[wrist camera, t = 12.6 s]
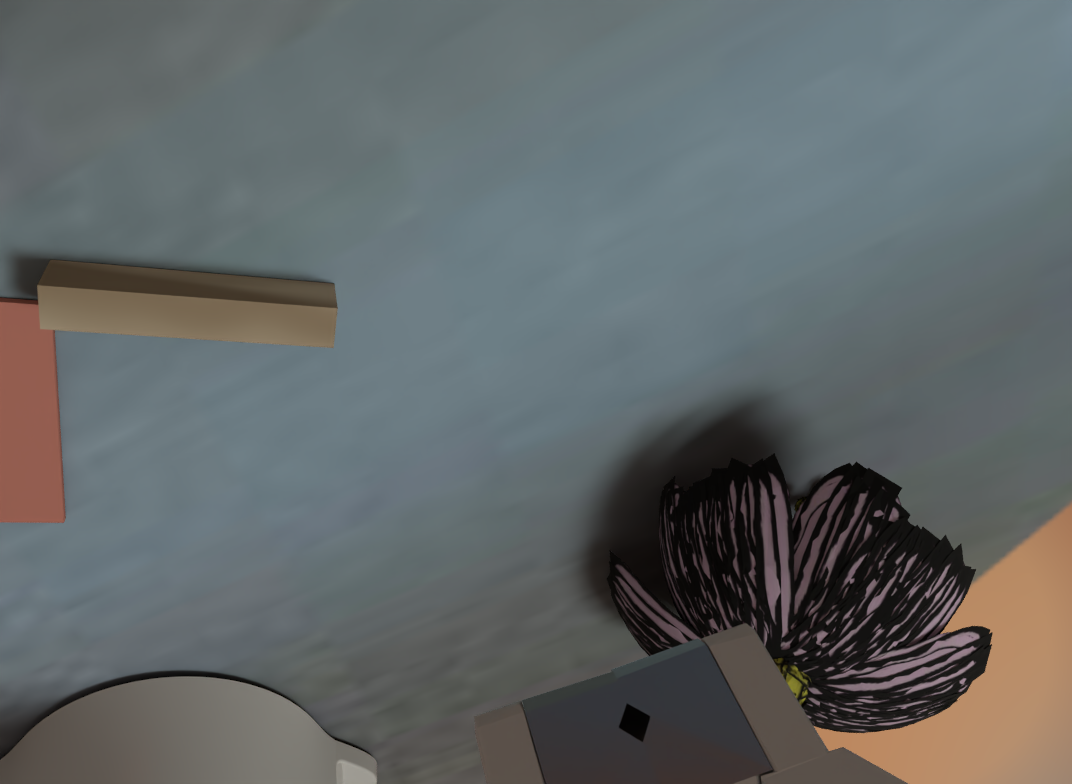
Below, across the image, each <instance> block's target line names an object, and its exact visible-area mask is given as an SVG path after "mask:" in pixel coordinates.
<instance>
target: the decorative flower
mask: <svg viewBox="0 0 1072 784" xmlns="http://www.w3.org/2000/svg"><path fill="white" fill-rule="evenodd" d="M674 482H675V476H674V477H673V478H672V479H671V480H670V481H669V482H668V483H667V484H666V485H665V486H664V490H663V491H662V496H661V499H660V508H659V542H660V554H661V559H662V565H663V570H664V576H665V580H666V583H667V586H668V589H669V592H670V594H671V597H672V599H673V602H674V605H675V607H676V609H677V611H678V613H679V615H680V617H681V619H680V618H679V617H678V616H677V615H675V614H674V613H673V612H671V611H670V610H669V609H668V608H667V607H666V606H665V605H664V604H663V603H661V602H660V601H659V600H658V599H657V598H656V597H655V596H654V595H653V594H652V593H651V592H650V591H649V590H648V589H647V588H646V587H645V586H644V585H643V584H642V583H641V581H640V580H639V579H638V578H637V577H636V576H635V575H634V574H633V573H632V571H631V570H630V568H629V567H628V566H627V565H626V564H625V563H624V562H622V561H621V560H620V559H619V558H618V557H617V556H616V555H615V554H614V553H613V552H611V551H610V561H609V563H610V575H609V576H608V577H607V581H608V583H609V586H610V589H611V596H612V599H613V601H614V603H615V605H616V607H617V609H618V612H619V614H620V615H621V617H622V619H623V620H624V622H625V624H626V626H627V628H628V629H629V631H630V632H631V634H632V635H633V637H634V638H635V639H636V641H637V642H638V644H639V645H640V647H641V648H642V649H643V650H644V651H645V652H646V653H647V654H648V655H649V656H651V655H654V654H656V653H659V652H662V651H665V650H667V649H670V648H673V647H676V646H678V645H681V644H684V643H687V642H689V641H692V640H695V639H700V640H701V639H702V638H704V637H707V636H710V635H713V634H716V633H718V632H721V631H724V630H727V629H730V628H732V627H735V626H738V625H741V624H744V623H746V624H748V625H749V626H750V627H752V628H753V629H754V630H755V631H756V633H757V635H758V636H759V638H760V640H761V641H762V643H763V644H764V646H765V648H766V649H767V651H768V653H769V654H770V656H771V658H772V659H773V661H774V662H775V664H776V666H777V667H778V669H779V671H780V672H781V674H782V676H783V677H784V679H785V681H786V682H787V684H788V685H789V687H790V689H791V690H792V692H793V694H794V695H795V697H796V699H797V700H798V702H799V703H800V705H801V707H802V708H803V710H804V712H805V713H806V715H807V717H808V718H809V720H810V721H811V723H812V725H813V726H816V727H819V728H822V729H829V730H833V731H840V732H849V733H866V732H877V731H884V730H890V729H896V728H902V727H904V726H908V725H910V724H914V723H916V722H919V721H921V720H924V719H926V718H929V717H931V716H934V715H936V714H938V713H940V712H942V711H943V710H945V709H947V708H949V707H950V706H951V705H952V704H953V703H954V702H956V700H957V699H958V698H959V696H961V695H962V694H964V693H965V692H967V690H968V688H969V686H970V685H971V683H972V681H973V680H975V679H976V678H977V677H979V676H980V675H981V674H983V673H984V671H985V668H986V664H987V661H988V657H989V653H990V649H991V646H992V644H991V645H990V642H991V637H992V633H990V634H989V632H990V629H987V628H985V627H981V626H971V627H966V628H962V629H960V630H957V631H954V632H949V633H948V632H947V633H943V634H940V633H941V632H942V631H943V630H944V628H945V627H946V625H947V624H948V622H949V621H950V619H951V618H952V616H953V615H954V614H955V612H956V610H957V609H958V607H959V606H960V605H961V603H962V601H963V600H964V598H965V596H966V594H967V592H968V590H969V587H970V584H971V582H972V579H973V576H974V574H975V571H976V569H971V567H968V566H965V564H964V562H963V555H962V546H961V544H960V545H959V546H958V547H957V548H956V549H955V550H953V548H952V546H951V544H950V542H949V541H948V539H947V537H946V535H945V536H944V537H943V538H942V540H941V541H940V540H939V539H938V538H937V537H935V536H934V535H933V534H931V533H930V532H929V531H928V530H926V529H925V528H924V527H922V529H920V528H919V527H918V525H917V526H916V527H915V526H913V525H912V524H910V523H909V522H908V518H909V516H910V514H909V513H908V512H907V511H906V510H905V509H904V508H903V507H902V506H901V503H900V500H899V497H898V494H899V492H900V491H901V489H902V488H901V487H900V486H898V485H896V484H895V483H893V482H891V481H890V480H888V479H886V478H885V477H883V476H881V475H880V474H878V473H876V472H875V471H873V470H871V469H870V468H868V469H866V468H864V467H863V466H862V465H860V464H859V463H857V462H856V463H855V464H854V465H853V466H852V465H851V464H850V463H848V464H846V465H843V466H841V467H838V468H836V469H834V470H833V471H831V472H830V473H829V474H827V475H826V476H824V477H823V478H822V479H821V480H820V481H819V482H818V484H817V485H816V486H815V487H814V488H813V489H812V491H811V492H810V494H809V496H808V497H802V498H800V499H798V501H797V502H796V505H795V511H796V513H795V515H794V518H793V520H792V514H791V509H790V503H789V500H790V497H789V492H788V488H787V485H786V482H785V478H784V475H783V472H782V470H781V467H780V465H779V463H778V460H777V458H776V456H775V453H774V454H773V455H771V456H770V457H768V458H767V459H765V460H764V461H763V459H761V460H760V461H758V462H757V463H755V464H754V465H753V464H744V463H742V462H740V461H738V460H735V459H733V458H731V461H730V464H729V467H728V469H715V468H712V473H711V477H708V478H706V479H703V480H700V481H698V482H695V483H693V487H689V490H688V491H686V492H685V491H683V487H679V486H678V485H677V484H676V483H674Z"/></svg>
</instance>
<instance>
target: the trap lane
mask: <svg viewBox="0 0 1072 784" xmlns="http://www.w3.org/2000/svg"><path fill="white" fill-rule="evenodd" d="M37 290H38V305H39V320H40V329H47V330H62V331H78V332H94V333H109V334H125V335H141V336H156V337H172V338H188V339H203V340H219V341H235V342H250V343H266V344H281V345H297V346H313V347H328V348H333V347H334V337H335V328H336V318H337V309H338V308H337V301H336V293H335V286H334V284H332V283H320V282H308V281H296V280H285V279H273V278H261V277H249V276H237V275H226V274H214V273H202V272H190V271H179V270H167V269H155V268H143V267H131V266H120V265H108V264H96V263H84V262H73V261H61V260H50V261H49V263H48V265H47V267H46V269H45V271H44V273H43V275H42V277H41V279H40V281H39V283H38V285H37Z"/></svg>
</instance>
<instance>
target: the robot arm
mask: <svg viewBox="0 0 1072 784" xmlns="http://www.w3.org/2000/svg"><path fill="white" fill-rule="evenodd" d="M522 702H523V704H522ZM522 702H521V701H518V702H515V703H513V704H510V705H507V706H504V707H501V708H498V709H495V710H492V711H489V712H486V713H483V714H480V715H477V716H474V722H475V734H476V739H477V743H478V748H479V752H480V757H481V761H482V766H483V770H484V775H485V779H486V783H487V784H908V783H906V782H904V781H902V780H901V779H899V778H897V777H895V776H893V775H892V774H890V773H888V772H886V771H884V770H883V769H881V768H879V767H878V766H876V765H874V764H872V763H870V762H869V761H867V760H865V759H863V758H861V757H860V756H858V755H856V754H854V753H852V752H851V751H849V750H847V749H845V748H844V747H842V748H839V749H835V750H832V751H828V749H827V748H826V746H825V745H824V743H823V741H822V740H821V738H820V736H819V735H818V733H817V731H816V730H815V728H814V726H813V725H812V723H811V721H810V720H809V718H808V717H807V715H806V713H805V712H804V710H803V708H802V707H801V705H800V703H799V702H798V700H797V699H796V697H795V695H794V694H793V692H792V690H791V689H790V687H789V685H788V684H787V682H786V681H785V679H784V677H783V676H782V674H781V672H780V671H779V669H778V667H777V666H776V664H775V662H774V661H773V659H772V658H771V656H770V654H769V653H768V651H767V649H766V648H765V646H764V644H763V643H762V641H761V640H760V638H759V636H758V635H757V633H756V631H755V630H754V629H753V628H752V627H750V626H749V625H748V624H746V623H744V624H741V625H738V626H735V627H732V628H730V629H727V630H724V631H721V632H718V633H716V634H713V635H710V636H707V637H704V638H702V639H701V640H700V639H695V640H692V641H689V642H687V643H684V644H681V645H678V646H676V647H673V648H670V649H667V650H665V651H662V652H659V653H656V654H654V655H651V656H648V657H645V658H643V659H640V660H637V661H634V662H631V663H629V664H626V665H623V666H620V667H618V668H615V669H612V670H611V672H610V673H607V674H603V675H600V676H597V677H594V678H591V679H588V680H585V681H581V682H578V683H575V684H572V685H569V686H566V687H562V688H559V689H556V690H553V691H550V692H547V693H544V694H540V695H537V696H534V697H531V698H528V699H525V700H522ZM523 706H524V707H523ZM0 784H377V762H376V760H375V759H374V758H373V757H372V756H371V755H369V754H367V753H366V752H364V751H361V750H359V749H357V748H355V747H352V746H350V745H347V744H344V743H342V742H339V741H336V740H334V739H333V738H332V737H330V736H329V735H328V734H327V733H326V732H325V731H324V730H323V729H322V728H321V727H320V726H319V725H318V724H317V723H316V722H315V721H314V720H313V719H312V718H311V717H310V716H309V715H308V714H307V713H306V712H305V711H304V710H302V709H301V708H300V707H298V706H297V705H295V704H294V703H292V702H291V701H289V700H287V699H285V698H284V697H282V696H280V695H278V694H275V693H273V692H271V691H268V690H266V689H263V688H260V687H257V686H253V685H250V684H246V683H242V682H238V681H232V680H227V679H219V678H210V677H190V676H186V677H164V678H155V679H147V680H141V681H135V682H130V683H126V684H121V685H118V686H114V687H110V688H107V689H104V690H101V691H98V692H95V693H92V694H90V695H87V696H85V697H82V698H80V699H78V700H76V701H74V702H72V703H70V704H68V705H66V706H64V707H62V708H60V709H59V710H57V711H55V712H54V713H52V714H51V715H49V716H48V717H46V718H45V719H43V720H42V721H41V722H40V723H38V724H37V725H36V726H34V727H33V728H32V729H31V730H30V731H29V732H28V733H27V734H26V735H25V736H24V737H23V738H22V739H21V740H20V741H19V742H18V744H17V745H16V746H15V747H14V748H13V749H12V750H11V751H10V752H9V753H8V754H7V755H6V756H4V757H3V758H2V759H1V760H0Z"/></svg>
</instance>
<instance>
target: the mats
mask: <svg viewBox="0 0 1072 784" xmlns="http://www.w3.org/2000/svg"><path fill="white" fill-rule="evenodd" d="M65 518H66V516H65V499H64V482H63V465H62V448H61V431H60V414H59V397H58V380H57V363H56V346H55V330H47V329H40V320H39V305H38V301H37V300H23V299H9V298H0V522H48V523H64V521H65Z"/></svg>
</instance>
